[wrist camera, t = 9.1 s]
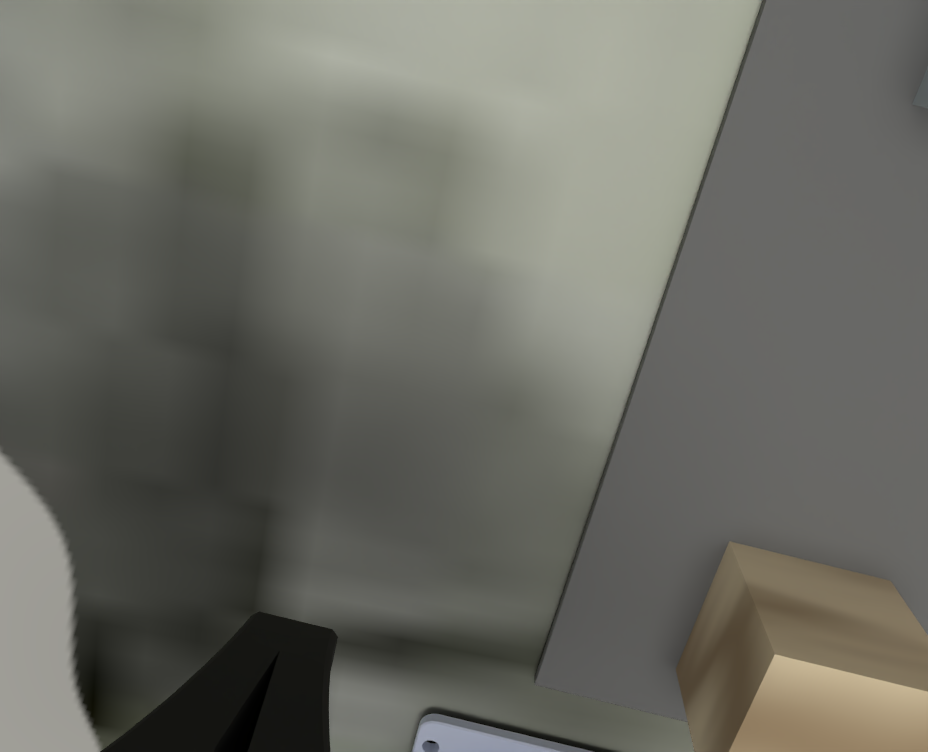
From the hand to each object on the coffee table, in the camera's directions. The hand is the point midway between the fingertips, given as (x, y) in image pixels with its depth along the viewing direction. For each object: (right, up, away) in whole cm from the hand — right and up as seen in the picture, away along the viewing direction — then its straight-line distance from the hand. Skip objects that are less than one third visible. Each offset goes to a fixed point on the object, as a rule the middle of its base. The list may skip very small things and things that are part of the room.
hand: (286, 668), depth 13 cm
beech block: (+12, -2, +10) cm, 15 cm away
